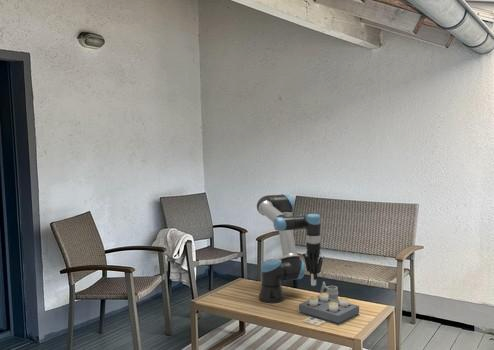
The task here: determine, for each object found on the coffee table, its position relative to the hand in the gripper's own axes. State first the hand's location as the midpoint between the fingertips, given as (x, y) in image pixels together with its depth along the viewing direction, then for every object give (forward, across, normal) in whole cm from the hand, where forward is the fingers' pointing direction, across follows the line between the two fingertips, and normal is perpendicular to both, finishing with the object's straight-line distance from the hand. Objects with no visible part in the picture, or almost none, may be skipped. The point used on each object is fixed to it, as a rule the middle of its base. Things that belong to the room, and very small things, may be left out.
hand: (313, 284), depth 265 cm
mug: (+16, -4, +20) cm, 26 cm away
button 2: (+13, 0, +10) cm, 16 cm away
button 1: (+13, 0, 0) cm, 13 cm away
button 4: (+13, +13, +10) cm, 21 cm away
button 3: (+13, +13, 0) cm, 18 cm away
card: (+16, +7, -10) cm, 20 cm away
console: (+16, +6, +5) cm, 18 cm away
